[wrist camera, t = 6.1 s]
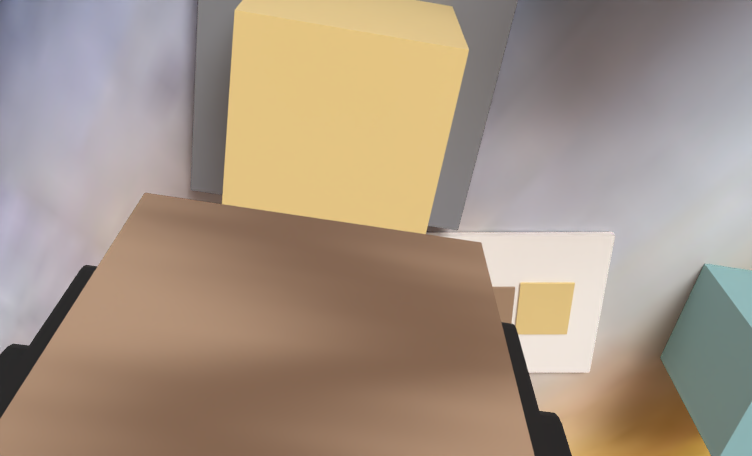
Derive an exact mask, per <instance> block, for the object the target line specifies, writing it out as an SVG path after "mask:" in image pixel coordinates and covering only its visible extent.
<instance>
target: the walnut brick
mask: <svg viewBox="0 0 752 456" xmlns="http://www.w3.org/2000/svg"><path fill="white" fill-rule="evenodd" d="M0 456H534V452H533V448H532V444H531V440H530V436H529V432H528V428H527V424H526V420H525V416H524V412H523V408H522V404H521V399H520V395H519V391H518V387H517V383H516V379H515V375H514V371H513V367H512V363H511V359H510V355H509V351H508V347H507V343H506V339H505V335H504V331H503V327H502V323H501V319H500V315H499V311H498V307H497V303H496V299H495V295H494V291H493V287H492V283H491V279H490V275H489V271H488V267H487V263H486V259H485V255H484V251H483V247H482V243H481V242H475V241H468V240H462V239H455V238H448V237H441V236H435V235H428V234H421V233H414V232H407V231H401V230H394V229H387V228H380V227H374V226H367V225H360V224H353V223H346V222H340V221H333V220H326V219H319V218H313V217H306V216H299V215H292V214H285V213H279V212H272V211H265V210H258V209H252V208H245V207H238V206H231V205H224V204H218V203H211V202H204V201H197V200H191V199H184V198H177V197H170V196H163V195H157V194H150V193H144V195H143V196H142V198H141V199H140V201H139V203H138V204H137V206H136V207H135V209H134V210H133V212H132V213H131V215H130V217H129V218H128V220H127V221H126V223H125V224H124V226H123V228H122V229H121V231H120V232H119V234H118V235H117V237H116V239H115V240H114V242H113V243H112V245H111V246H110V248H109V249H108V251H107V253H106V254H105V256H104V257H103V259H102V260H101V262H100V264H99V265H98V267H97V268H96V270H95V271H94V273H93V274H92V276H91V278H90V279H89V281H88V282H87V284H86V285H85V287H84V289H83V290H82V292H81V293H80V295H79V296H78V298H77V300H76V301H75V303H74V304H73V306H72V307H71V309H70V310H69V312H68V314H67V315H66V317H65V318H64V320H63V321H62V323H61V325H60V326H59V328H58V329H57V331H56V332H55V334H54V335H53V337H52V339H51V340H50V342H49V343H48V345H47V346H46V348H45V350H44V351H43V353H42V354H41V356H40V357H39V359H38V361H37V362H36V364H35V365H34V367H33V368H32V370H31V371H30V373H29V375H28V376H27V378H26V379H25V381H24V382H23V384H22V386H21V387H20V389H19V390H18V392H17V393H16V395H15V396H14V398H13V400H12V401H11V403H10V404H9V406H8V407H7V409H6V411H5V412H4V414H3V415H2V417H1V418H0Z"/></svg>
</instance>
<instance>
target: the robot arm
mask: <svg viewBox="0 0 752 456" xmlns="http://www.w3.org/2000/svg"><path fill="white" fill-rule="evenodd" d="M96 268H97V266H90V265H85V266H83V267H82V268H81V270H80V271H79V273H78V274H77V276H76V277H75V278H74V280H73V281H72V283H71V284H70V286H69V287H68V289H67V290H66V292H65V293H64V295H63V296H62V298H61V299H60V301H59V302H58V304H57V305H56V307H55V308H54V310H53V311H52V313H51V314H50V316H49V317H48V319H47V320H46V322H45V323H44V325H43V326H42V327H41V329H40V330H39V332H38V333H37V335H36V336H35V338H34V339H33V341H32V342H31V344H30V345H29V346H27V345H19V344H12V345H10V346H8V347H7V348H6V349H5V350H4V351H3V352H2V353H1V354H0V418H1V417H2V415H3V414H4V412H5V411H6V409H7V407H8V406H9V404H10V403H11V401H12V400H13V398H14V396H15V395H16V393H17V392H18V390H19V389H20V387H21V386H22V384H23V382H24V381H25V379H26V378H27V376H28V375H29V373H30V371H31V370H32V368H33V367H34V365H35V364H36V362H37V361H38V359H39V357H40V356H41V354H42V353H43V351H44V350H45V348H46V346H47V345H48V343H49V342H50V340H51V339H52V337H53V335H54V334H55V332H56V331H57V329H58V328H59V326H60V325H61V323H62V321H63V320H64V318H65V317H66V315H67V314H68V312H69V310H70V309H71V307H72V306H73V304H74V303H75V301H76V300H77V298H78V296H79V295H80V293H81V292H82V290H83V289H84V287H85V285H86V284H87V282H88V281H89V279H90V278H91V276H92V274H93V273H94V271H95V270H96ZM501 323H502V327H503V331H504V335H505V339H506V343H507V347H508V351H509V355H510V359H511V363H512V367H513V371H514V375H515V379H516V383H517V387H518V391H519V395H520V399H521V404H522V408H523V412H524V416H525V420H526V424H527V428H528V432H529V436H530V440H531V444H532V448H533V452H534V456H572V455H571V452H570V449H569V445H568V442H567V439H566V436H565V432H564V429H563V426H562V423H561V421H560V419H559V417H558V416H557V415H556V414H555V413H551V412H543V411H539V409H538V405H537V401H536V398H535V394H534V390H533V387H532V383H531V380H530V376H529V372H528V369H527V365H526V361H525V358H524V354H523V351H522V347H521V343H520V340H519V336H518V332H517V329H516V327H515V325H514V324H511V323H504V322H501Z"/></svg>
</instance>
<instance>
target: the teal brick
mask: <svg viewBox="0 0 752 456" xmlns="http://www.w3.org/2000/svg"><path fill="white" fill-rule="evenodd" d="M660 358H661V360H662V362H663V364H664V366H665V368H666V370H667V372H668V374H669V376H670V378H671V380H672V381H673V383H674V385H675V387H676V389H677V391H678V393H679V395H680V397H681V399H682V401H683V403H684V404H685V406H686V408H687V410H688V412H689V414H690V416H691V418H692V420H693V422H694V424H695V425H696V427H697V429H698V431H699V433H700V435H701V437H702V439H703V441H704V443H705V445H706V447H707V448H708V450H709V452H710V454H711V456H752V271H751V270H744V269H737V268H731V267H724V266H717V265H710V264H704V266H703V268H702V270H701V272H700V274H699V276H698V279H697V281H696V283H695V285H694V287H693V289H692V291H691V293H690V296H689V298H688V300H687V302H686V304H685V306H684V308H683V310H682V312H681V315H680V317H679V319H678V321H677V323H676V325H675V327H674V329H673V331H672V334H671V336H670V338H669V340H668V342H667V344H666V346H665V348H664V350H663V353H662V355H661V357H660Z"/></svg>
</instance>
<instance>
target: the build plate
mask: <svg viewBox="0 0 752 456" xmlns="http://www.w3.org/2000/svg"><path fill="white" fill-rule="evenodd" d="M517 2H518V0H198V16H197V42H196V67H195V92H194V117H193V142H192V167H191V190H194V191H200V192H207V193H213V194H220V195H222V204H224V205H231V206H238V207H245V208H252V209H258V210H265V211H272V212H279V213H285V214H292V215H299V216H306V217H313V218H319V219H326V220H333V221H340V222H346V223H353V224H360V225H367V226H374V227H380V228H387V229H394V230H401V231H407V232H414V233H421V234H426V231H427V227H428V226H432V227H439V228H446V229H452V230H458V228H459V224H460V220H461V216H462V213H463V209H464V205H465V201H466V197H467V193H468V190H469V186H470V182H471V178H472V174H473V170H474V167H475V163H476V159H477V155H478V151H479V147H480V144H481V140H482V136H483V132H484V128H485V124H486V121H487V117H488V113H489V109H490V105H491V101H492V97H493V94H494V90H495V86H496V82H497V78H498V74H499V71H500V67H501V63H502V59H503V55H504V51H505V48H506V44H507V40H508V36H509V32H510V28H511V25H512V21H513V17H514V13H515V9H516V5H517Z"/></svg>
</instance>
